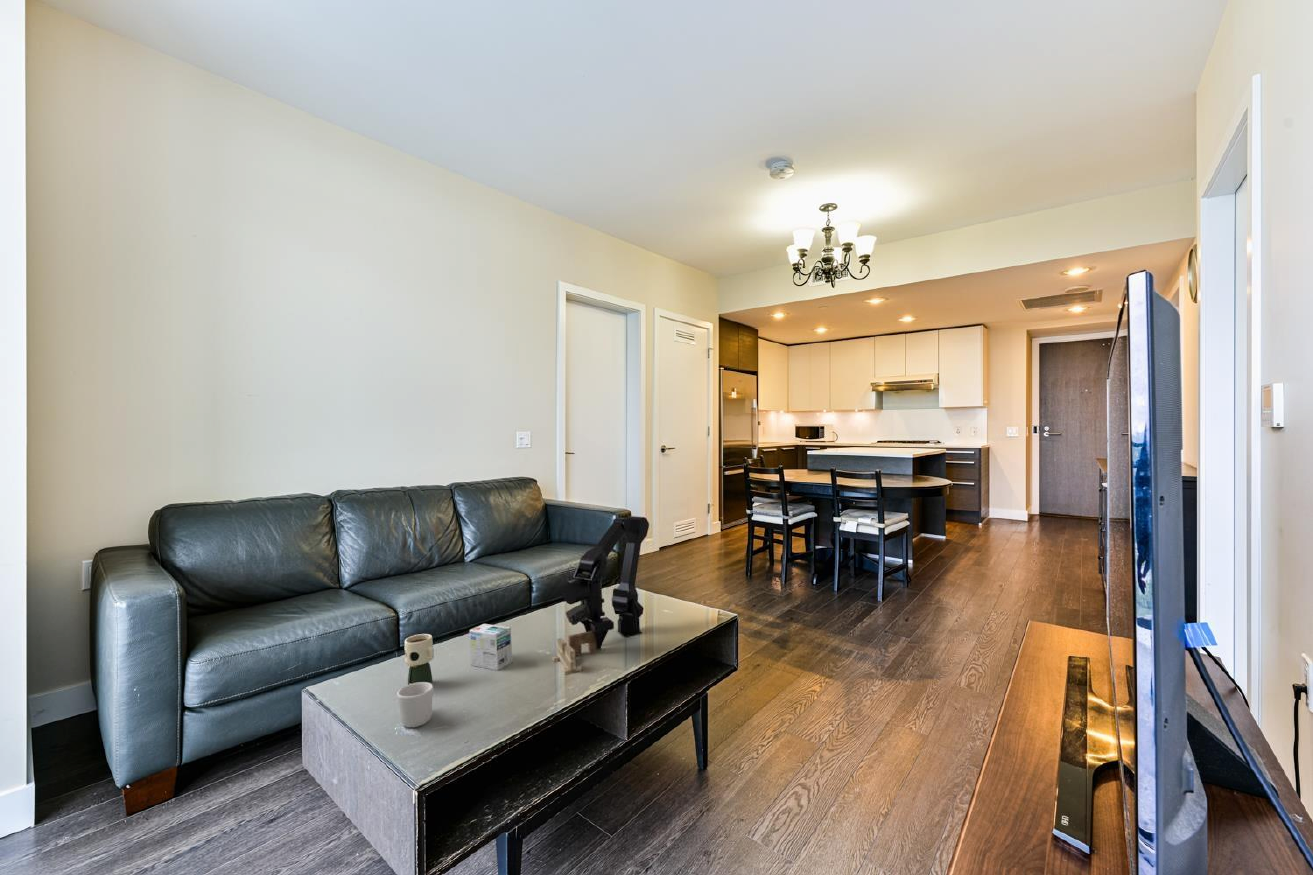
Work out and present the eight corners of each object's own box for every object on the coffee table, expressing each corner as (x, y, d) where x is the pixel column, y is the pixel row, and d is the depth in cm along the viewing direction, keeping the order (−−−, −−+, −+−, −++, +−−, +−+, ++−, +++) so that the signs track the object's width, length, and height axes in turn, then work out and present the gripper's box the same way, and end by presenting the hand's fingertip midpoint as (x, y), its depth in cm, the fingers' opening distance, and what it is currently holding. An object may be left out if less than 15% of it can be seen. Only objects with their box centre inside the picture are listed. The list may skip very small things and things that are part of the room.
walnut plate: (599, 648, 174) (598, 629, 174) (600, 649, 173) (600, 630, 173) (568, 655, 170) (568, 635, 170) (570, 656, 168) (569, 637, 168)
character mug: (395, 687, 151) (393, 640, 151) (417, 676, 158) (415, 631, 158) (423, 694, 146) (421, 645, 146) (444, 683, 153) (442, 636, 153)
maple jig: (568, 656, 169) (567, 636, 169) (581, 670, 158) (580, 649, 158) (552, 659, 166) (551, 639, 166) (564, 674, 156) (564, 653, 156)
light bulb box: (513, 662, 166) (511, 626, 166) (497, 671, 160) (496, 634, 160) (485, 657, 170) (484, 622, 170) (469, 665, 164) (468, 629, 164)
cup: (409, 709, 138) (408, 677, 138) (442, 707, 139) (441, 675, 139) (392, 732, 128) (391, 698, 128) (428, 729, 128) (426, 695, 128)
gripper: (558, 592, 177) (560, 641, 177) (578, 608, 161) (580, 661, 161) (591, 587, 182) (592, 634, 183) (613, 601, 166) (615, 653, 166)
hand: (594, 645), depth 173 cm, fingers open, 6 cm apart
